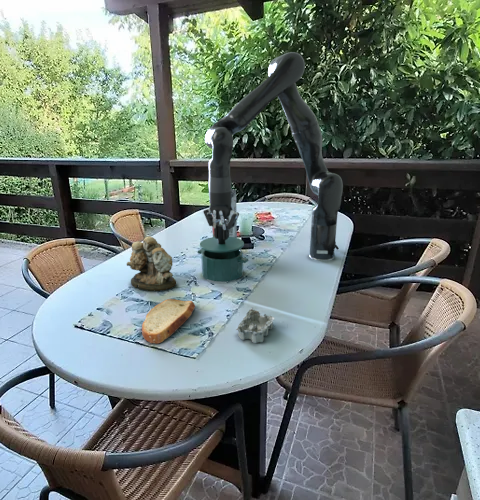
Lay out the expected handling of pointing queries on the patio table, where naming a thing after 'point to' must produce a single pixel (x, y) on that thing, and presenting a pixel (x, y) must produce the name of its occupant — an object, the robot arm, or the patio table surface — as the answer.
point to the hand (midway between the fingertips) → (221, 238)
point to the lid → (221, 243)
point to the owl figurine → (151, 266)
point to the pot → (222, 265)
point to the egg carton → (254, 326)
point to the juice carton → (233, 230)
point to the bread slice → (166, 319)
